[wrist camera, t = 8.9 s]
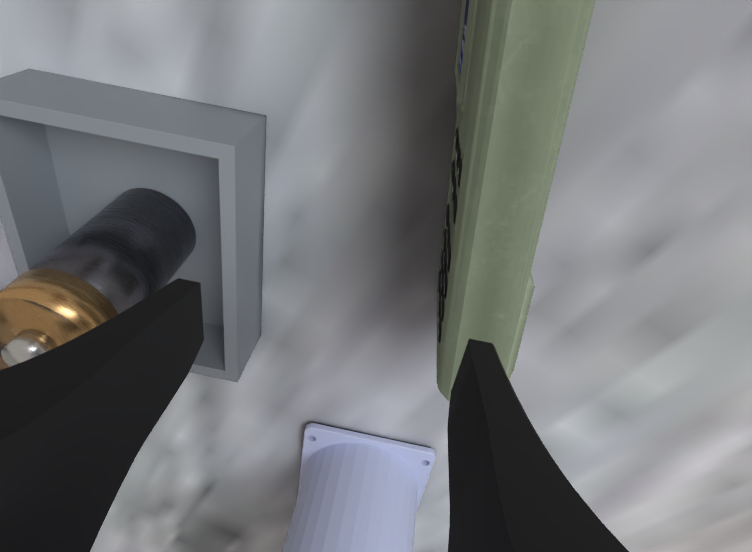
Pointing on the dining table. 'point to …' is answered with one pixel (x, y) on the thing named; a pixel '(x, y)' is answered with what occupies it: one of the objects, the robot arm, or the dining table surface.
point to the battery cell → (95, 273)
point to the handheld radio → (502, 167)
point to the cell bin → (141, 170)
